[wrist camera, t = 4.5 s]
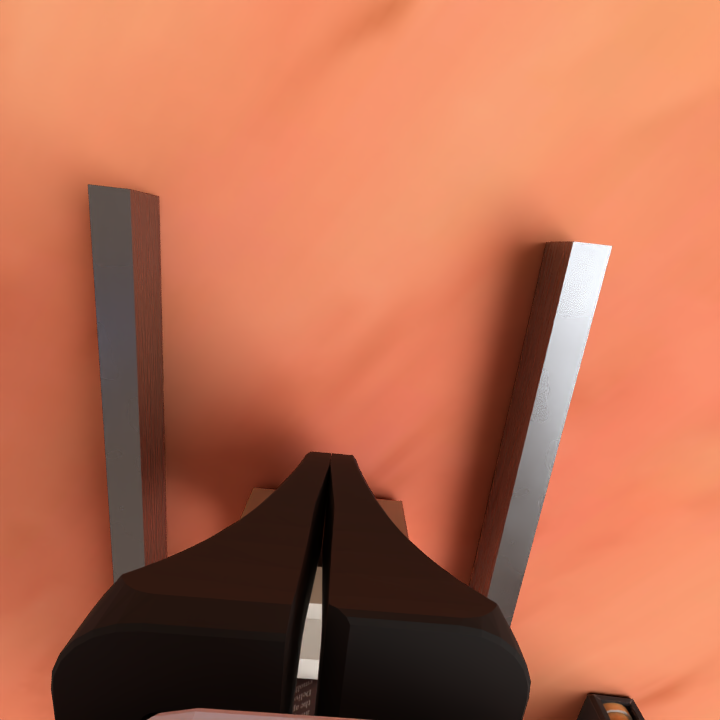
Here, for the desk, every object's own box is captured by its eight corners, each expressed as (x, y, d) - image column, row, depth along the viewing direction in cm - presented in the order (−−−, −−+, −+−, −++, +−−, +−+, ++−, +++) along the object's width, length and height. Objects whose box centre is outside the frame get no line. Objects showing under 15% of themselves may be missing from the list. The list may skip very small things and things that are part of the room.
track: (148, 781, 18) (129, 829, 16) (122, 192, 11) (88, 184, 10) (443, 800, 18) (450, 847, 17) (580, 245, 12) (612, 246, 10)
